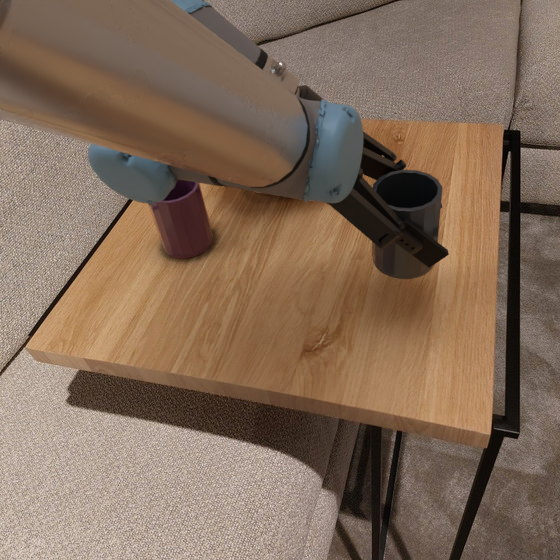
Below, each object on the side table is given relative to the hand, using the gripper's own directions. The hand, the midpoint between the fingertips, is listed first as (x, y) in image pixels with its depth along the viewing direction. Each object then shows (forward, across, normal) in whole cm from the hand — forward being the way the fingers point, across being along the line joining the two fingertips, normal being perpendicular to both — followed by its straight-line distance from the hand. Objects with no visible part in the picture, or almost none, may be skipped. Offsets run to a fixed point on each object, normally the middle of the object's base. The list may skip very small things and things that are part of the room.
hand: (435, 234), depth 67 cm
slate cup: (0, 0, +5) cm, 5 cm away
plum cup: (-17, +11, +31) cm, 37 cm away
